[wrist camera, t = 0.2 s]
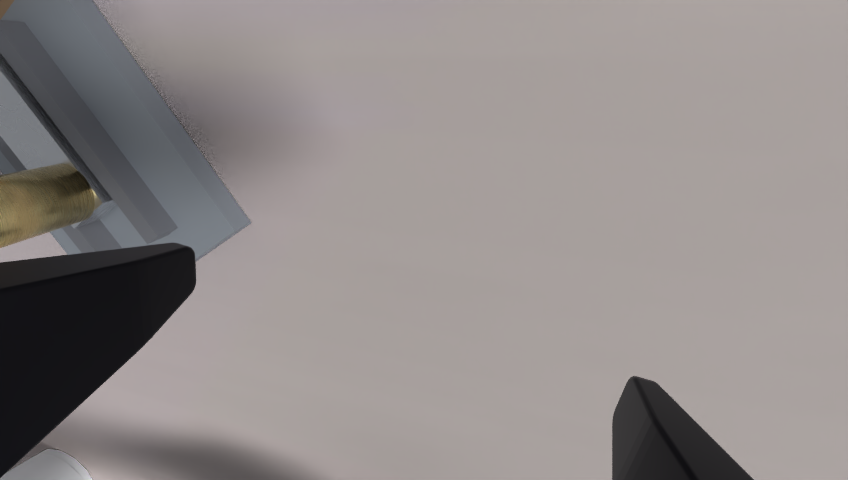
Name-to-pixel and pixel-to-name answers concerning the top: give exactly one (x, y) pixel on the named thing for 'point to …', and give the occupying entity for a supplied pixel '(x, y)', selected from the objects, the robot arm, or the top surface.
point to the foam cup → (49, 468)
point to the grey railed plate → (114, 132)
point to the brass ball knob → (41, 170)
